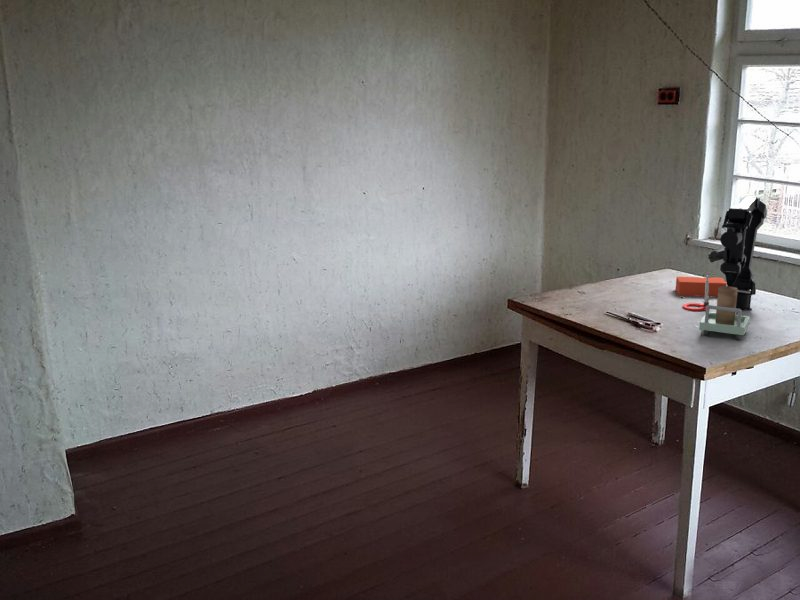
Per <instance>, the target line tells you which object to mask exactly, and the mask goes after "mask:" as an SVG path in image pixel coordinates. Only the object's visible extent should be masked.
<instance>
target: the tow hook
mask: <svg viewBox="0 0 800 600" xmlns="http://www.w3.org/2000/svg"><path fill="white" fill-rule="evenodd" d="M708 277H709V275H706V277H705V278H706V281H705V296H703V299H704V301H703V303H698V302H697V303H696V302H688V303H684V304H683V305H682V309H684V310H686V311H691V312H692V311H693V312H699V311H700V312H701V311H706V306H707V305H710V302H709V300H710V296H709V295H708V290H709V281H708ZM692 306H693V307H692ZM695 306H696V307H695Z"/></svg>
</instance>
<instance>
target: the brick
mask: <svg viewBox="0 0 800 600" xmlns="http://www.w3.org/2000/svg"><path fill="white" fill-rule="evenodd" d="M705 281H706V277H699V276H676V280H675V292H676V294H677V293H678V294H677V295H678V296H679V295H683V297H704V296H705ZM708 281H709V290H708V295H709V297H710V296H718V288H719V287H721V286H727V282H726V280H725V279H724V278H723V277H709V276H708Z"/></svg>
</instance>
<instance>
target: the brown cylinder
mask: <svg viewBox="0 0 800 600" xmlns="http://www.w3.org/2000/svg"><path fill="white" fill-rule="evenodd" d="M737 291H738V289H737V288H735V287H730V286H721V287H719V288H718V297H716V298H717V299H716V306H720V307H729V308H736V301H737ZM715 312H716V321H715V323H719V324H727V325H734V322H735V315H736V312H732V311H723V310H716V311H715Z"/></svg>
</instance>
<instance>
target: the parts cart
mask: <svg viewBox="0 0 800 600" xmlns="http://www.w3.org/2000/svg"><path fill="white" fill-rule="evenodd" d="M710 310H723V311H732V312H735V313H737V314H735V322H734V325H727V324H719V323H715V321H716V311H710ZM742 314H743V310H740V309H737V308H729V307H720V306H717V305H710V304H709V305H707V306H706V310H705V314H704V315H703V317H702V318H701V320H700V321H699V326H698V327H699V328H698V329H699V330H702V335H703V336H708V333H709V332H715V333H716V332H717V333H723V334H730V335H731V334H732V335H735V340H737V341H740V340H741V336H745V333H746V331H747V330H748V327H749V325H750V320H751V316H747V315H742Z"/></svg>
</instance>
